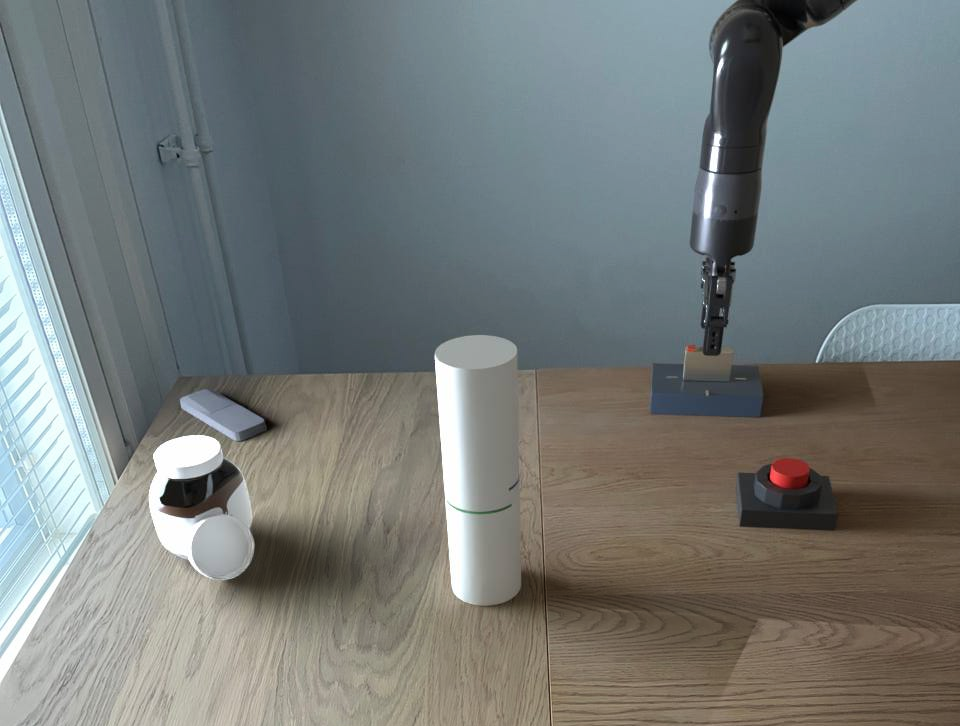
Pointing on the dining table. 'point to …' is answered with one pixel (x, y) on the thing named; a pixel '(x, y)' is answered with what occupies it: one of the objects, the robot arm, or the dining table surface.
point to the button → (789, 473)
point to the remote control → (223, 414)
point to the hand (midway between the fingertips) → (710, 340)
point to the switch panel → (706, 393)
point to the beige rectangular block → (707, 365)
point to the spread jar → (202, 507)
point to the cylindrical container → (481, 465)
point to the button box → (785, 502)
